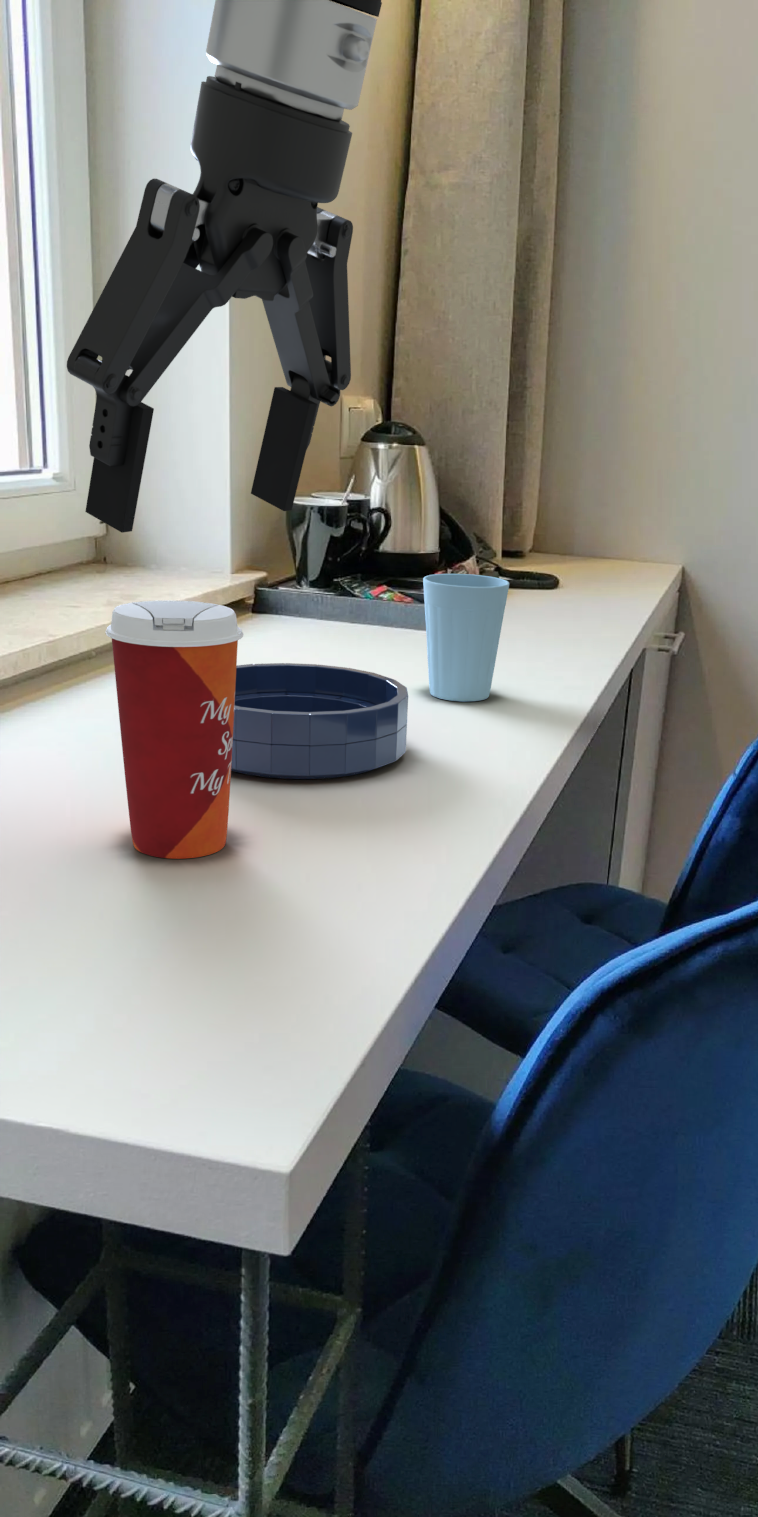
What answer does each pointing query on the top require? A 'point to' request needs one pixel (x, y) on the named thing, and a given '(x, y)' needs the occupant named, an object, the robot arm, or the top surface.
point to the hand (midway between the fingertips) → (195, 511)
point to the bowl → (315, 721)
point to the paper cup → (176, 722)
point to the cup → (463, 633)
